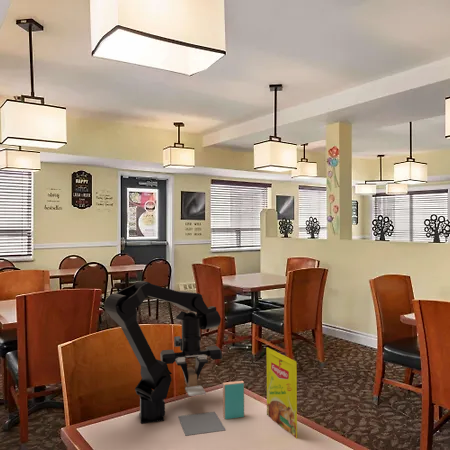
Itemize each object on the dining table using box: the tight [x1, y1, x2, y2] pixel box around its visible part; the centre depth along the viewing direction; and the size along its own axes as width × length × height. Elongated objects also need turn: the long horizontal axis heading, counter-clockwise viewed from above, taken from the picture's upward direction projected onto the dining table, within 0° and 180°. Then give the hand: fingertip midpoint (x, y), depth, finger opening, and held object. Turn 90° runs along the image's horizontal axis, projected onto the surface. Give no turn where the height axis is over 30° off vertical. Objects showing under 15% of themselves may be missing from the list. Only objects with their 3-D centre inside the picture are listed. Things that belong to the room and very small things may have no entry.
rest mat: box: [178, 411, 227, 437], centre depth 119 cm, size 11×12×1 cm
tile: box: [222, 380, 245, 420], centre depth 123 cm, size 6×2×10 cm, turn 105°
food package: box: [265, 346, 298, 439], centre depth 118 cm, size 15×1×20 cm, turn 25°
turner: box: [184, 366, 207, 397], centre depth 132 cm, size 14×5×4 cm, turn 16°
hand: (191, 382), depth 133 cm, fingers closed on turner, 2 cm apart
